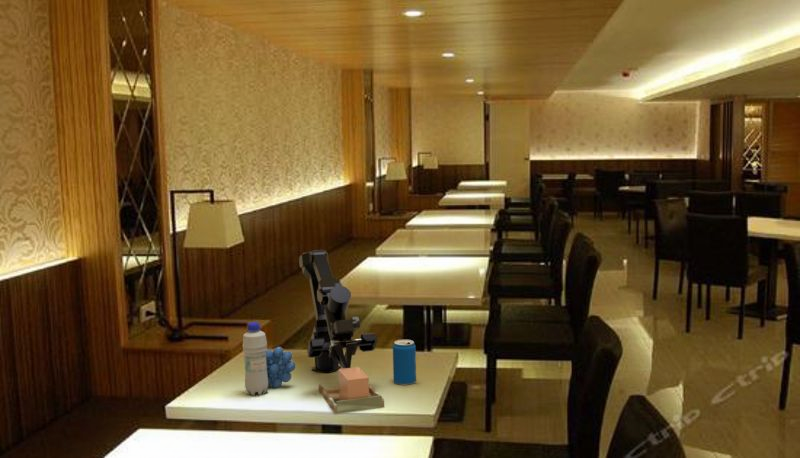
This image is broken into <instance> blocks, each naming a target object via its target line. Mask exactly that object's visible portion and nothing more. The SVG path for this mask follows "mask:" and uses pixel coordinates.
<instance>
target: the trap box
mask: <svg viewBox="0 0 800 458" xmlns="http://www.w3.org/2000/svg"><path fill="white" fill-rule="evenodd" d="M317 386H318V387H317V388H318V392H319V393H320V394H321V396H322V397H323V398H324V400H325V401H326V403H327V404H328V406H329V407H330V409H331V410H332V411H333V413H334V414H335V415H337V414H345V413H353V412H359V411H360V412H361V411H366V410H374V409H380V408H385V399H384V396H382V395H381V394H380V393H379V392H378V391H376V390H375V388H373V387H372V386H371V385H370V384H369V397H365V398H357V399H349V400H342V401H341V400H340V398H339V386H335V387H334V386H333V387H328V388H324V387H323V385H322V384H321V383H317Z"/></svg>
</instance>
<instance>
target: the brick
mask: <svg viewBox="0 0 800 458" xmlns="http://www.w3.org/2000/svg"><path fill="white" fill-rule="evenodd" d="M337 370H338V387H339V398H340V400H341V401H342V400H349V399H357V398H365V397H369V385H370V383H369V382H370V381H369V376H368V375H367V374H366V373H365V372H364V371H363V370H362V369H361V368H360V366H354V367H350V368H344V369H343V368H339V369H337Z"/></svg>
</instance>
